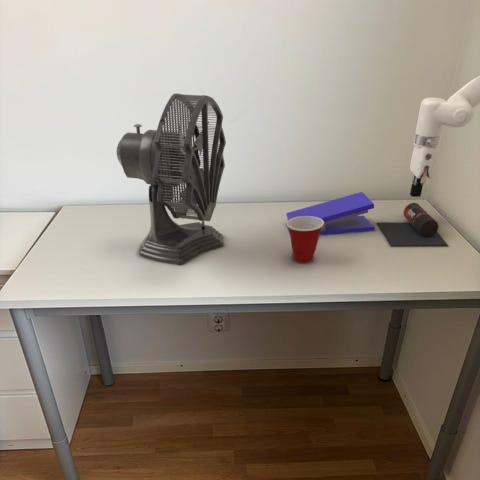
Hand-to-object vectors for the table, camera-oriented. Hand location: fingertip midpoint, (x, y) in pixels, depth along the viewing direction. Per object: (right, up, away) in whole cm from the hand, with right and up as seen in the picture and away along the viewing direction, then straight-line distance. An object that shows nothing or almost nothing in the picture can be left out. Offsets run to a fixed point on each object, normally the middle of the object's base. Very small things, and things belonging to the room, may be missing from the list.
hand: (415, 195), depth 173 cm
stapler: (-29, -11, 0) cm, 31 cm away
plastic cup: (-40, -24, -19) cm, 51 cm away
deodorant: (0, -4, +4) cm, 6 cm away
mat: (-3, -14, -4) cm, 15 cm away
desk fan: (-80, -20, -14) cm, 83 cm away
